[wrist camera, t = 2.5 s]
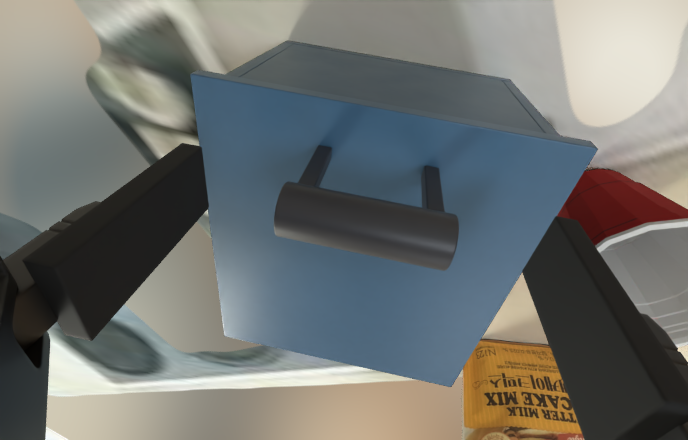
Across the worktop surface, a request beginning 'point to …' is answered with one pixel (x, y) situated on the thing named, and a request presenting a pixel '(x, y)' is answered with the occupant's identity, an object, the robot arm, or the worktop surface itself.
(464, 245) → the lid
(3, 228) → the worktop surface
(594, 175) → the plastic cup
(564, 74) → the worktop surface
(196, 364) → the worktop surface
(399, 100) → the blue hollow box
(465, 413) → the pancake mix bag
